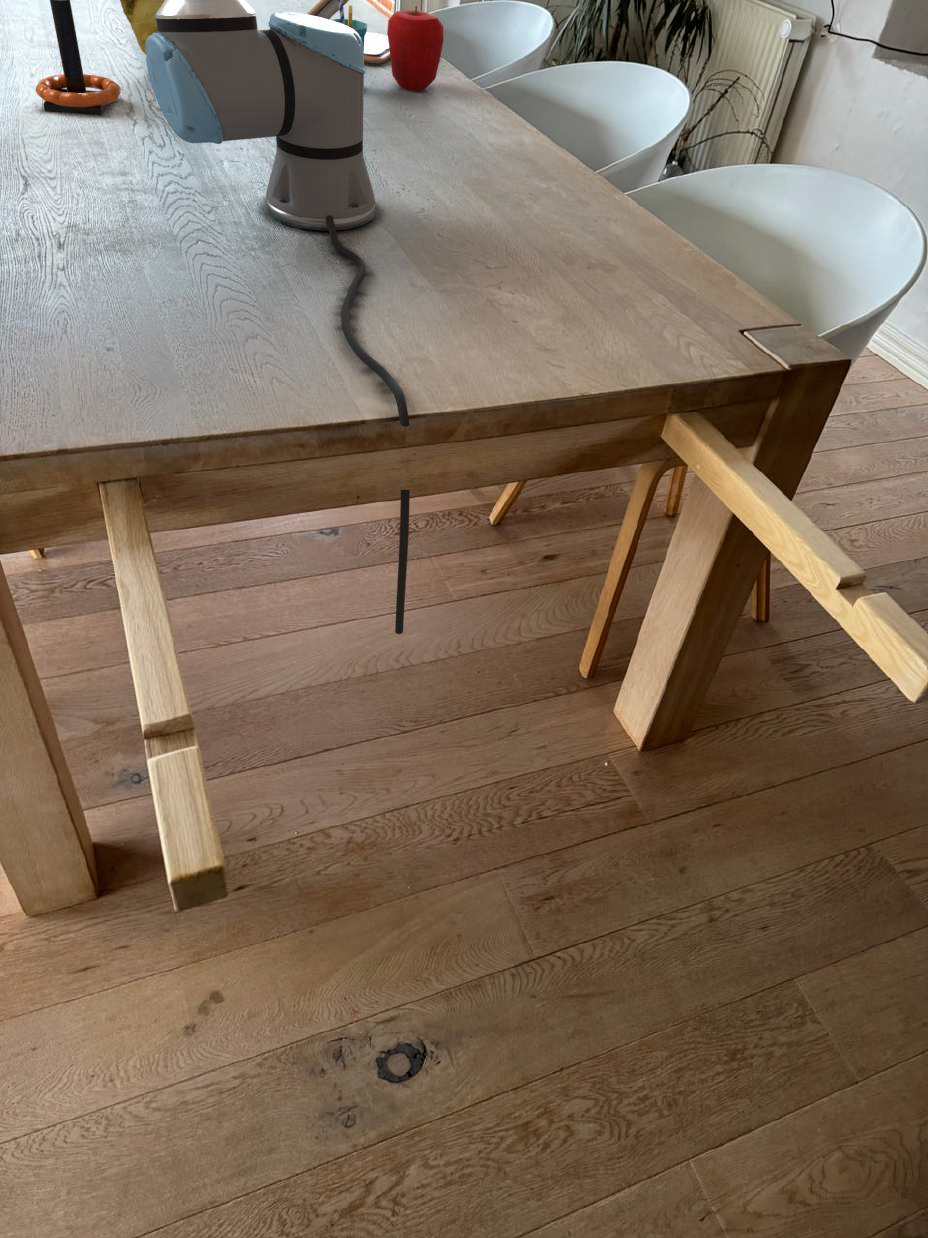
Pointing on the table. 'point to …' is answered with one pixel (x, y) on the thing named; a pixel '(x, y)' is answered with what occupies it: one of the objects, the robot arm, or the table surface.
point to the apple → (414, 48)
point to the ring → (103, 97)
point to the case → (374, 43)
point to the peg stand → (69, 60)
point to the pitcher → (142, 18)
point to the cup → (352, 22)
